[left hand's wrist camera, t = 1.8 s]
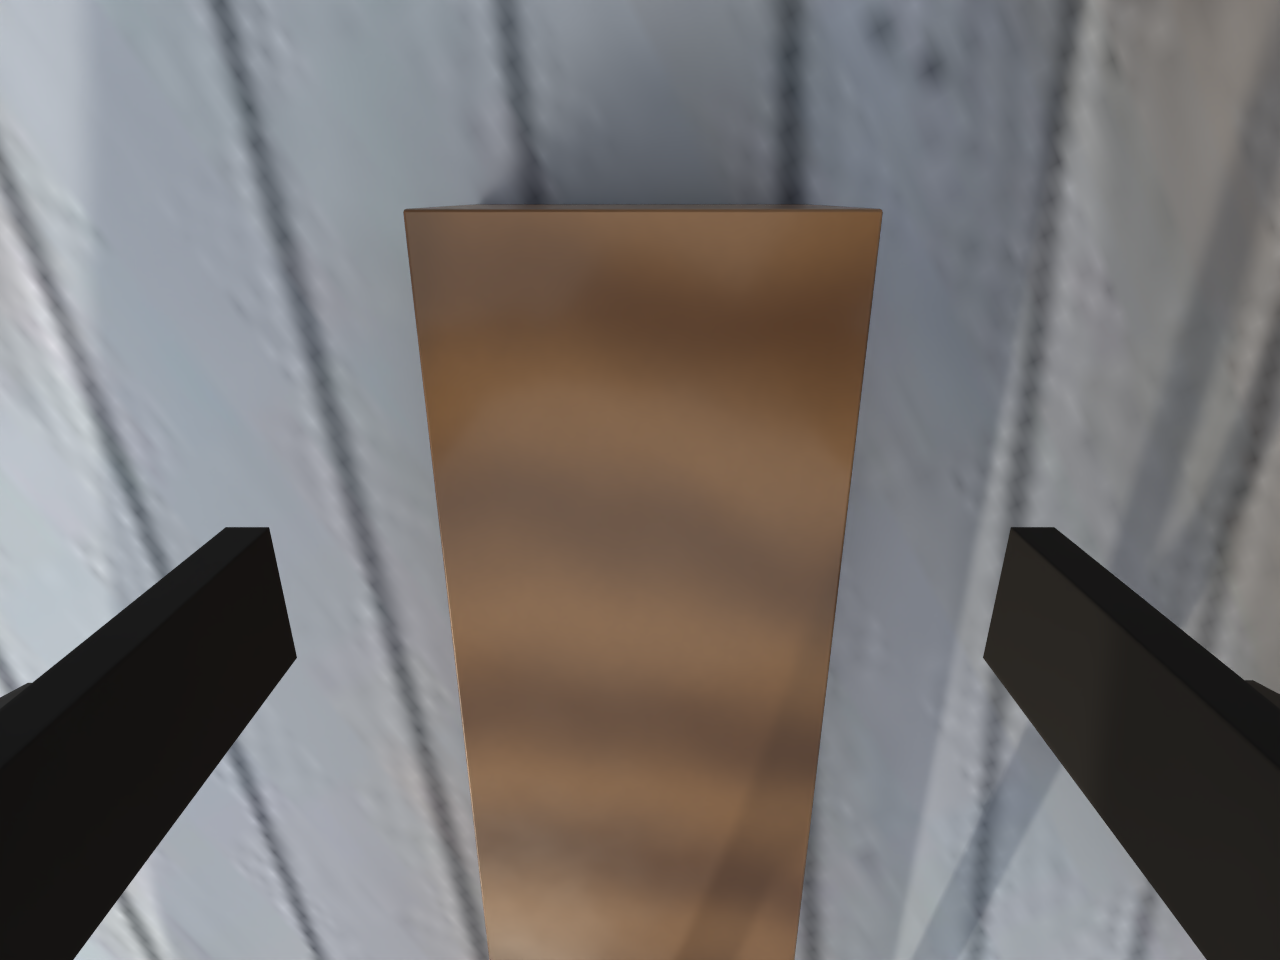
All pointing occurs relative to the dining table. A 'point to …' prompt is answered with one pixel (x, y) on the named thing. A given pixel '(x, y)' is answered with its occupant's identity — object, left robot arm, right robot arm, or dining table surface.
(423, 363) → the thick board
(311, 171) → the dining table surface
